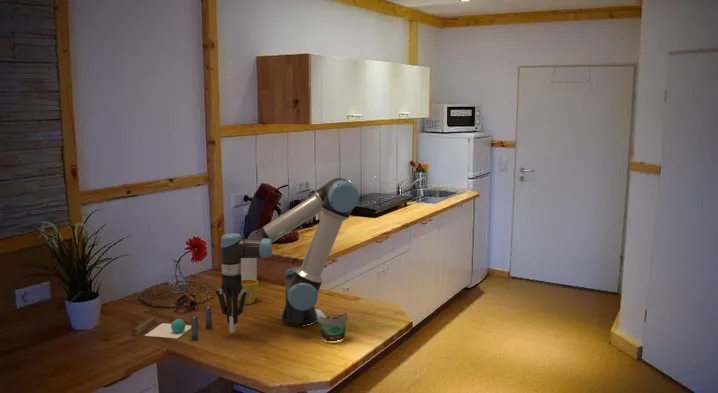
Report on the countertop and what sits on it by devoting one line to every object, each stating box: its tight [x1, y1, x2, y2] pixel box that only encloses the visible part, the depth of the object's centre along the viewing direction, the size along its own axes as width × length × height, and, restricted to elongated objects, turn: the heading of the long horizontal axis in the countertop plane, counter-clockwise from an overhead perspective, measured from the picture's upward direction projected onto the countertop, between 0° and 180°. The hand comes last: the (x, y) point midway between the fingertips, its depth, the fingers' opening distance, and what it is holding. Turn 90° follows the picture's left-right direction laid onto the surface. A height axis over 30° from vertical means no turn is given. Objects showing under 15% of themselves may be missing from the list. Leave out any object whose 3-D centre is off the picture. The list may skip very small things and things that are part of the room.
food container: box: [317, 311, 349, 341], centre depth 227 cm, size 12×6×10 cm, turn 117°
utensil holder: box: [241, 258, 258, 281], centre depth 305 cm, size 15×15×18 cm
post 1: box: [190, 315, 199, 341], centre depth 227 cm, size 3×3×9 cm
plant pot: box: [238, 279, 260, 305], centre depth 274 cm, size 10×10×10 cm
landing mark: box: [144, 322, 191, 339], centre depth 236 cm, size 14×14×1 cm
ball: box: [170, 318, 186, 333], centre depth 234 cm, size 6×6×6 cm
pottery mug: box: [173, 293, 200, 312], centre depth 263 cm, size 12×10×8 cm
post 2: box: [204, 305, 213, 330], centre depth 239 cm, size 3×3×9 cm
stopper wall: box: [132, 316, 157, 336], centre depth 238 cm, size 2×14×2 cm, turn 170°
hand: (232, 331), depth 231 cm, fingers closed
